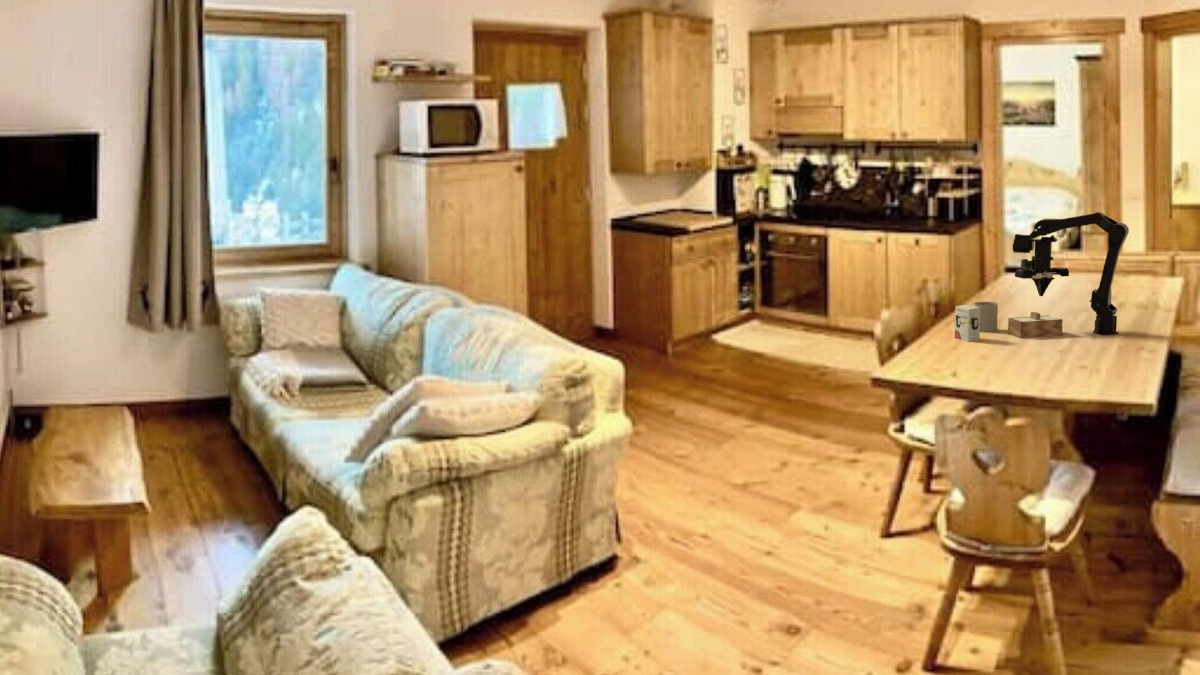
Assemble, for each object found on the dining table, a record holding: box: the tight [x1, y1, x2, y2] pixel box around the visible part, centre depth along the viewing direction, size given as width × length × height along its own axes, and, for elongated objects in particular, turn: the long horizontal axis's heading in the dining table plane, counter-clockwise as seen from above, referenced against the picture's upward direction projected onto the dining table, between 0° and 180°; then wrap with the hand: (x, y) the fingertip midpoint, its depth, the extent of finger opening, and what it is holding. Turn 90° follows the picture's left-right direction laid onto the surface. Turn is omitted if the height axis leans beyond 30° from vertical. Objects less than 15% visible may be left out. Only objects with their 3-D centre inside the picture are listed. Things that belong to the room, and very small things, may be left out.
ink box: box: [954, 304, 981, 342], centre depth 429 cm, size 9×5×12 cm, turn 17°
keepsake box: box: [1007, 314, 1063, 339], centre depth 434 cm, size 16×9×6 cm, turn 99°
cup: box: [973, 301, 999, 333], centre depth 445 cm, size 8×8×10 cm
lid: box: [1011, 311, 1060, 322], centre depth 433 cm, size 15×8×3 cm, turn 99°
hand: (1040, 296), depth 442 cm, fingers closed
